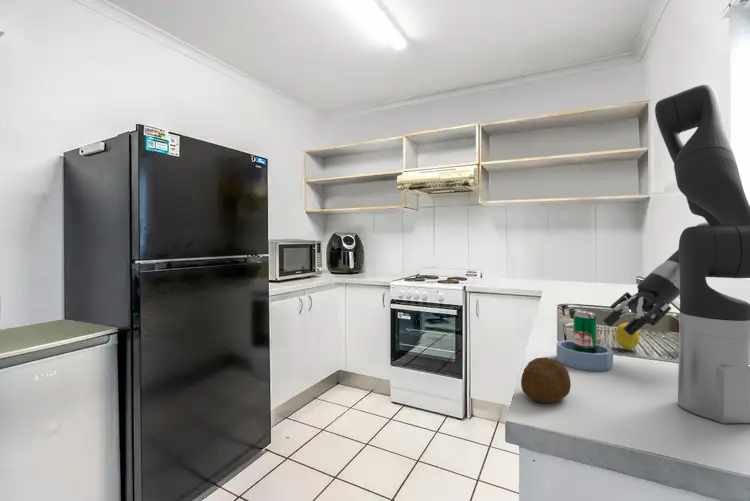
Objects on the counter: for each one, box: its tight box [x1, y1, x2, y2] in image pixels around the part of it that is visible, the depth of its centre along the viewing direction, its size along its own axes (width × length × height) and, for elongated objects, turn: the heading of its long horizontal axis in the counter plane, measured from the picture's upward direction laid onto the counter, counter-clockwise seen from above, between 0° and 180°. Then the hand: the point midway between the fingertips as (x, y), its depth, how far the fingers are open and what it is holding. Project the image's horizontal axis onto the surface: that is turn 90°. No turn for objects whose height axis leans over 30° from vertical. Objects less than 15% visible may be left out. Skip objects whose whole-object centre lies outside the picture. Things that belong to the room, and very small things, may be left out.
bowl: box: [555, 340, 614, 372], centre depth 88 cm, size 12×12×4 cm
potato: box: [520, 356, 572, 404], centre depth 68 cm, size 8×12×8 cm, turn 136°
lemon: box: [614, 321, 640, 351], centre depth 100 cm, size 6×6×8 cm
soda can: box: [572, 310, 598, 353], centre depth 88 cm, size 5×5×12 cm
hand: (616, 328), depth 88 cm, fingers open, 8 cm apart
